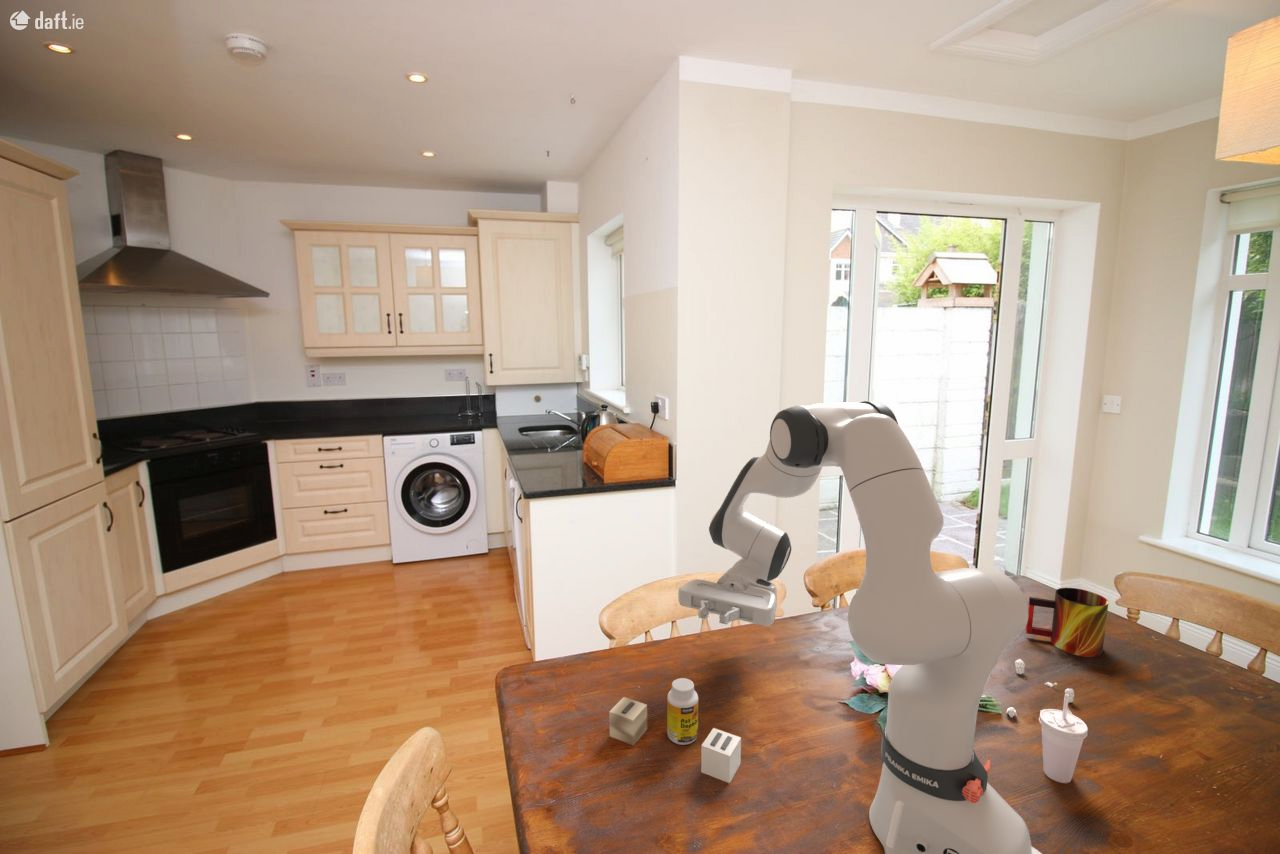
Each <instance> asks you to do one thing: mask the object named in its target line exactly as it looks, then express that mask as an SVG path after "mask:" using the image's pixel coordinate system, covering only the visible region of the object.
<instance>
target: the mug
mask: <svg viewBox="0 0 1280 854" xmlns="http://www.w3.org/2000/svg"><path fill="white" fill-rule="evenodd" d="M1054 593H1055V596H1054V600H1053V599H1045V598H1039V597H1031V596H1029V599H1028V606H1027V607H1028V622H1027V625H1026V627H1025V633H1026V634H1027V635H1033V636H1041V637H1046V638H1050V642H1051V644H1052V645H1053V646H1054V647H1056V648H1058V649H1059V650H1061V651H1063V652H1066V653H1068V654H1071V655H1075V656H1077V657H1084V658H1097V657H1100V656H1102V654H1103V651H1104V650H1103V649H1104V644H1105V636H1106V635H1105V634H1106V627H1107V617H1108V610H1109V600H1108V599H1107V598H1106V597H1104V596H1102V595H1101V594H1099V593H1097V592H1096V593H1095V592H1092V591H1089V590H1086V589H1082V588H1075V587H1061V588H1060V587H1059V588H1058V589H1056V590H1055V592H1054ZM1035 607H1039V608H1041V607H1042V608H1048V609H1053V615H1052V621H1051V623H1052V625H1051V629H1049V628H1043V627H1038V626H1037V627H1036V626H1033V622H1034V621H1033V620H1034V610H1035Z"/></svg>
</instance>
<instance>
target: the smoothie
mask: <svg viewBox="0 0 1280 854" xmlns="http://www.w3.org/2000/svg"><path fill="white" fill-rule="evenodd" d="M1068 700H1069V695H1068V694H1066V693H1064V699H1063V708H1062V710H1061V709H1056V708H1055V709H1054V708H1045V709H1046V710H1043V709H1042V710H1043V711H1040V713H1039V717H1038V721H1039V723H1040V725H1041V726H1040V727H1041V741H1042V742H1041V744H1042V745H1041V746H1042V762H1043V772H1044V774H1045V776H1047V777H1048V778H1049V779H1051V780H1053V781H1055V782H1057V783H1061V784H1068V783H1070V782H1072V779H1073V775H1074V773H1075V769H1076V766H1077V762H1078V758H1079V755H1080V752H1081V749H1082V746H1083V743H1084V739H1086V738H1087V737H1088V730H1089V728H1088V726H1087V724H1086V723H1085V722H1084V720H1082V719H1081V718H1080V717H1078V716H1076V715H1074V714H1073V713H1072V714H1073V715H1072V714H1070V713H1068V712H1067V710H1068V708H1069V702H1068Z"/></svg>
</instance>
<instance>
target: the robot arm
mask: <svg viewBox="0 0 1280 854" xmlns="http://www.w3.org/2000/svg"><path fill="white" fill-rule="evenodd" d="M898 422H899V421H898V419H897V417H896V415H895V413H894V412H893V410H891V408H890V407H888V406H887V405H885V404H883V403H880V402H874V401H866V400H864V401H859V402H855V401H853V402H851V401H848V402H847V401H845V402H843V401H842V402H841V401H840V402H836V401H826V402H819V403H813V404H809V405H808V404H806V405H794V406H791V407H787V408H784V409H782V410H781V411H778V412H777V413H776V415H775V417H774V418H773V420H772V422H771V425H770V431H769V441H768V444H767V447H766V450H765V453H764V454H763V455H762V456H760V457H759V456H755V457H752V458H750V459H749V460H748V461H747V462H746V463H745V465H744V466H743V467H742V469H741V470H740V472H738V473H739V474H737V477H736V478H735V480H734V481H733V483H732V485H731V487H730V489H729V490H728V493H727V494H726V496H725V498H724V499H723V502H722V504H721V506H720V508H719V509H718V510H717V511H716V512H715V513H714V514H713V517H712V519H711V520H710V524H709V527H708V531H709V535H710V538H711V540H712V543H713V544H715V545H717V546H720V547H721V548H723V549H725V550H728V551H730V552H732V553H733V554H736V555H737V556H739V557H741V558H740V559H739V560H737V561H736V562H735V563H734V564H733V566H732V567H730V568H729V569H728V570H727V571H726V572H724V573H723V574H722V576H721V577H719V579H717V582H714V581H713V582H712V581H709V580H705V579H700V578H699V579H692V580H690V581H688V582H686V583H684V584H683V585H681V586H680V587H679V588H678V592H677V595H678V596H677V597H678V599H677V601H678V604H679V605H680V606H682V607H686V608H690V609H694V610H697V611H698V618H699V619H701V620H702V619H703V620H707V618H709V617H710V616H709V615H710V614H715V615H718V616H719V624H723V625H728V624H729V623H730V622H735V621H743V622H747V623H751V624H756V625H758V626H759V625H760V626H763V627H768V626H771V625H772V624H773V623H774V621H775V619H776V612H777V606H778V605H777V603H778V592H777V591H778V590H777V584H775V583H772V581H773V580H775V579H776V578H778V577H779V576H780V575H781V574H782V572H783V570H784V568H785V567H786V565H787V563H788V561H789V559H790V557H791V556H790V555H791V554H792V553H791V552H792V544H791V541H790V537H789V535H788V533H787V532H786V531H785V530H782V529H781V528H780V527H779V528H778V527H777V526H775V525H773V524H772V523H769V522H768V521H765V520H763V519H761V518H760V517H758V516H756V515H754V514H752V513H750V512H749V511H747V510H746V509H745V507H744V505H745V503H746V502H747V499H748V498H749V496H750V495H751V494H759V495H760V494H762V495H767V496H772V497H776V498H780V499H781V498H785V499H786V498H790V499H791V498H795V497H799V496H802V495H803V494H805V493H807V492H808V491H809V490H811V489H812V487H813V486H814V485H815V483H816V481H817V479H818V477H819V475H820V473H821V470H822V468H823V467H839V468H840V469H841V471H842V473H843V474H842V475H843V478H844V480H845V483H846V486H847V490H848V493H849V496H850V497H851V498H850V499H851V501H852V504H853V508H854V510H855V512H856V515H857V519H858V522H859V526H860V530H861V532H862V537H863V541H864V546H865V565H864V574H863V575H862V576H863V578H862V580H861V583H860V585H859V587H858V589H857V590H856V592H855V593H854V594H853V596H852V598H851V600H850V602H849V605H848V610H847V624H848V629H849V633H850V635H851V638H852V639H853V642H854V643H855V645H856V646H857V648H858V649H859V651H860V652H862V653H863V655H864V656H866V657H867V659H869V660H870V661H871V662H874V663H876V664H879V665H890V666H900V667H899V668H898V670H896V671H895V673H894V674H893V676H892V678H891V681H890V682H889V686H888V696H887V697H888V699H887V711H886V712H887V713H886V726H884V728H883V732H882V737H881V745H880V753H881V756H880V757H881V759H880V761H881V764H882V767H881V773H880V778H879V782H878V786H877V789H876V794H875V796H874V798H873V800H872V802H871V804H870V806H869V813H868V816H869V823H870V827H871V828H872V830H873V833H874V834H875V836H876V837H877V839H878V840H879V842H880V843H881V845H882V847H883V850H884V854H1043V853H1042V852H1040V851H1039V850H1038V849H1036V848H1035V847H1033V846H1032V841H1031V837H1030V836H1031V835H1030V832H1029V829H1028V826H1027V823H1026V821H1025V820H1024V819H1023V818H1022V817H1021V815H1019V813H1017V811H1015V809H1014V808H1013V807H1012V806H1011V805H1010V804H1008V802H1007V801H1006V800H1005V799H1004V798H1003V797H1002V796H1001V795H1000V794H999V793H998V792H997V791H996V790H995V789H994V788H993V786H992V785H990V783H989V782H988V781H989V780H988V775H989V772H990V771H991V770H990V769H991V760H990V759H988V760H987V761H986V763H985V765H983V764H982V762H981V761H980V760H979V758H978V756H977V755H976V752H975V749H974V743H975V742H974V741H975V733H976V725H977V719H978V711H979V707H980V705H979V703H980V700H981V697H982V695H984V692H985V689H986V687H987V685H988V682H989V681H990V678H991V676H992V674H993V672H994V670H995V668H996V666H997V664H998V662H999V661H1000V659H1001V658H1002V655H1003V654H1004V652H1005V651H1006V649H1008V647H1009V645H1010V644H1012V642H1013V641H1014V640H1015V639H1016V638H1017V637H1019V635H1021V634H1022V633H1023V631H1024V630H1026V625H1027V622H1028V607H1029V606H1028V602H1027V601H1026V598H1025V596H1024V594H1023V592H1022V590H1021V588H1020V587H1019V586H1018V584H1017V583H1016V582H1015V581H1014V580H1013V579H1012V578H1010V576H1008V575H1006V574H1004V573H1003V572H1000V571H998V570H994V569H986V568H975V567H961V568H955V569H947V570H941V571H935V572H934V569H933V565H932V560H931V559H932V558H931V548H932V547H931V546H932V543H933V541H934V540H935V539H936V538H937V537H938V536H939V535H940V533H941V532H942V531H943V530H942V529H943V528H944V515H943V513H942V510H941V507H940V505H939V503H938V499H937V498H936V496H935V494H934V491H933V489H932V486H931V485H930V482H929V481H930V480H929V479H928V477H927V475H926V472H925V470H924V468H923V465H922V464H921V462H920V459H919V457H918V455H917V453H916V451H915V449H914V447H913V446H912V444H911V442H910V440H909V439H908V437H907V435H906V434H905V433H904V431H903V429H902V428H901V427H900V425H899V423H898Z"/></svg>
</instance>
